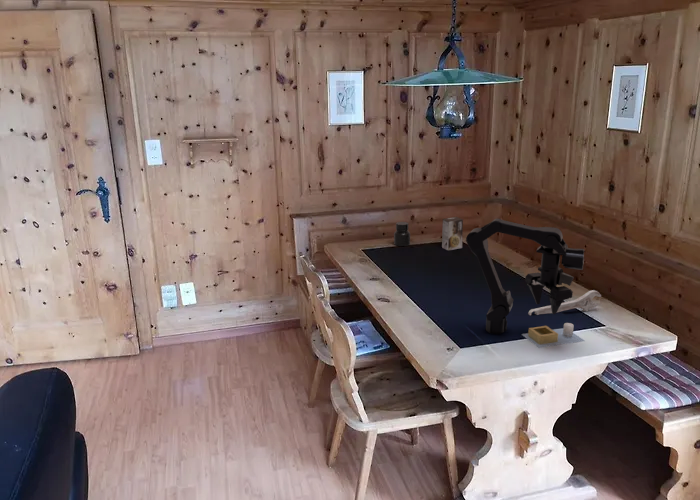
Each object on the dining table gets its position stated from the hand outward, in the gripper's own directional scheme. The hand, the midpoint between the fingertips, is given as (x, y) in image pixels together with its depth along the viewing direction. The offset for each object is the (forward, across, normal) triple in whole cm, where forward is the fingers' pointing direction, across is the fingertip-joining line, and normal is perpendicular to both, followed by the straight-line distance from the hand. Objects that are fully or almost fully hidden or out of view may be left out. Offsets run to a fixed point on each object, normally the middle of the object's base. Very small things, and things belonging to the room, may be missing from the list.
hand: (545, 308), depth 195 cm
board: (+12, -1, -4) cm, 12 cm away
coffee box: (+13, +112, -21) cm, 114 cm away
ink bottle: (+13, +128, +2) cm, 128 cm away
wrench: (+12, +18, -22) cm, 31 cm away
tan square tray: (+11, 0, 0) cm, 11 cm away
